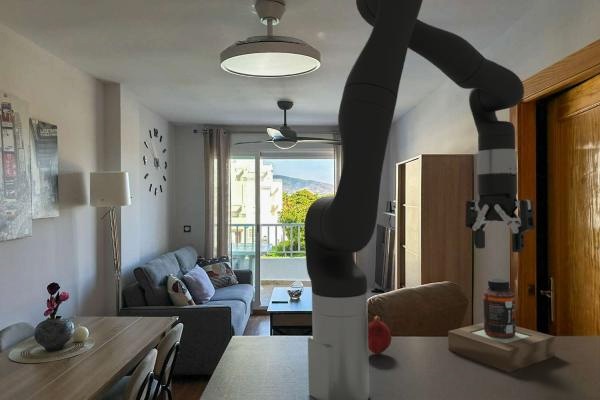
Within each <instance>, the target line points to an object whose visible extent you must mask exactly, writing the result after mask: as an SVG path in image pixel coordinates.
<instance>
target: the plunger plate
mask: <svg viewBox="0 0 600 400" xmlns="http://www.w3.org/2000/svg"><path fill="white" fill-rule="evenodd" d="M473 333H474V334H477V335H480V336H484V337H487V338H490V339H493V340H497V341H500V342H503V343H509V342H512V341H516V340H519V339H523V338H526V337H529V336H527V335H523V334H520V333H516V332H515V336H513V337H511V338H498V337H493V336H490V335H488V334H486V333H485V331H484V330H480V331H477V332H473Z"/></svg>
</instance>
